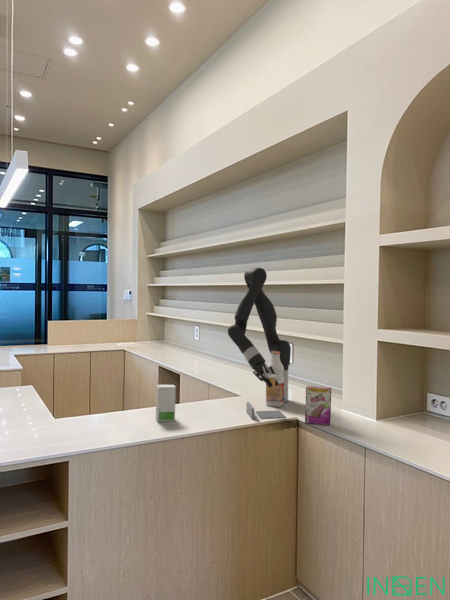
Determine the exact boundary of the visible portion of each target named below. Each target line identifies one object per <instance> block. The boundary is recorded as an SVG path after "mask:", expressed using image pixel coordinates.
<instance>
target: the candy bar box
mask: <svg viewBox="0 0 450 600" xmlns="http://www.w3.org/2000/svg"><path fill="white" fill-rule="evenodd" d="M304 415H305V417H304V423H305V424H308V425H309V424H310V425H318V426H319V425H320V426H331V422H332V421H331V420H332V419H331V418H332V417H331V416H332V387H331V386H318V385H317V386H316V385H306V388H305V413H304Z"/></svg>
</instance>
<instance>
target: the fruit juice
mask: <svg viewBox="0 0 450 600" xmlns="http://www.w3.org/2000/svg"><path fill="white" fill-rule="evenodd" d="M270 355H271V356H270V360H269V362H268V363H267V364H266V365H267V366H268V367H270V366H272V368H273V370H274V372H275V374H276V377H275V379H276V381H277V382H278V385H277V386H275V394H274V395H269V394H266V393H265V405H266V406H268V407H272V408H273V407H274V408H275V407H277V408H279V407H283V406H284V403H285V402H284V376H283V372H284V366H283V365H282V363H281V361H280V357H279V355H280V352H279V351H271V353H270ZM268 374H269V373H268Z"/></svg>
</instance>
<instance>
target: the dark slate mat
mask: <svg viewBox="0 0 450 600" xmlns="http://www.w3.org/2000/svg"><path fill="white" fill-rule="evenodd" d="M255 413H256V414H257V415H258V417H259V418H260V419H262V420H263V419H286V418H287V417H286V415H285V414H284V413H282V412H281V411H280V410H255Z"/></svg>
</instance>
